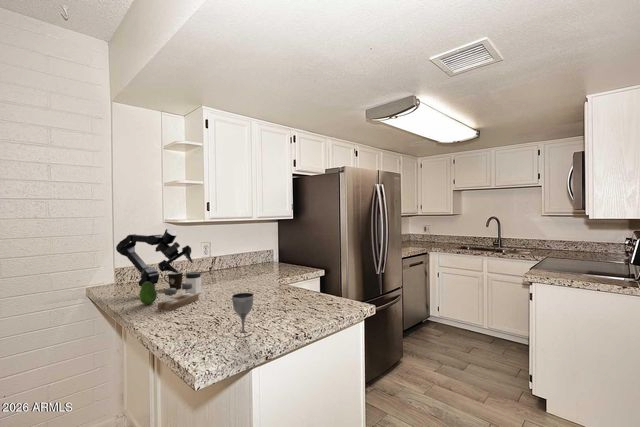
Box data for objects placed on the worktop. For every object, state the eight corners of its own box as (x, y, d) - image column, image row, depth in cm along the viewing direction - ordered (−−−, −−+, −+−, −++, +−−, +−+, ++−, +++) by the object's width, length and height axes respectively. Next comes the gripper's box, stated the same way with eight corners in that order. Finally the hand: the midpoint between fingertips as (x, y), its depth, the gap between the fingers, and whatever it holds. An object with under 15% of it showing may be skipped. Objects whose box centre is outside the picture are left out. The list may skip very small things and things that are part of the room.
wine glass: (234, 330, 122) (234, 292, 122) (254, 329, 123) (254, 292, 123) (230, 338, 114) (230, 298, 114) (252, 337, 115) (251, 297, 115)
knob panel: (157, 309, 150) (157, 302, 150) (186, 298, 170) (186, 292, 170) (171, 310, 148) (171, 303, 148) (198, 299, 167) (198, 293, 167)
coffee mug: (185, 288, 194) (185, 272, 194) (173, 291, 187) (173, 274, 187) (175, 285, 200) (175, 270, 200) (162, 288, 193) (162, 272, 193)
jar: (203, 293, 180) (202, 273, 180) (188, 295, 175) (188, 274, 175) (198, 290, 187) (198, 270, 187) (184, 292, 182) (183, 272, 182)
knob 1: (162, 296, 151) (162, 290, 151) (170, 294, 156) (170, 287, 156) (170, 297, 150) (170, 290, 150) (178, 294, 155) (178, 288, 155)
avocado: (136, 305, 157) (136, 282, 157) (150, 301, 164) (150, 279, 164) (145, 307, 154) (145, 283, 154) (160, 303, 160) (160, 280, 161)
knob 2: (179, 290, 163) (179, 284, 163) (186, 288, 168) (186, 282, 168) (187, 291, 162) (187, 285, 162) (194, 289, 166) (194, 283, 166)
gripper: (149, 251, 160) (168, 270, 156) (180, 232, 173) (199, 249, 168) (152, 262, 168) (170, 280, 164) (182, 244, 180) (199, 260, 176)
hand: (185, 267), depth 168 cm, fingers open, 9 cm apart
